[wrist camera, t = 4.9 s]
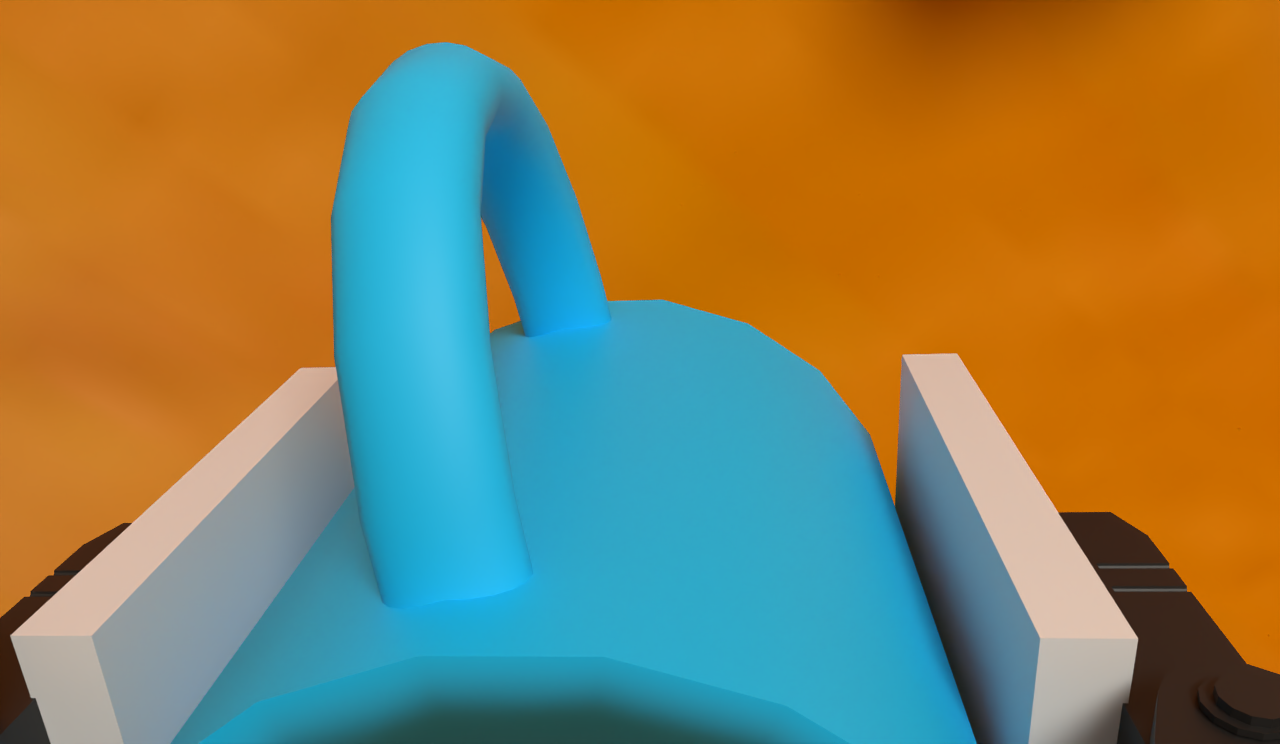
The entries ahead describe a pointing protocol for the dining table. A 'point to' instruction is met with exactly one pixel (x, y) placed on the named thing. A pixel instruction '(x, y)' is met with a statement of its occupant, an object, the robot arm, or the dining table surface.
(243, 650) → the mug
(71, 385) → the dining table surface
